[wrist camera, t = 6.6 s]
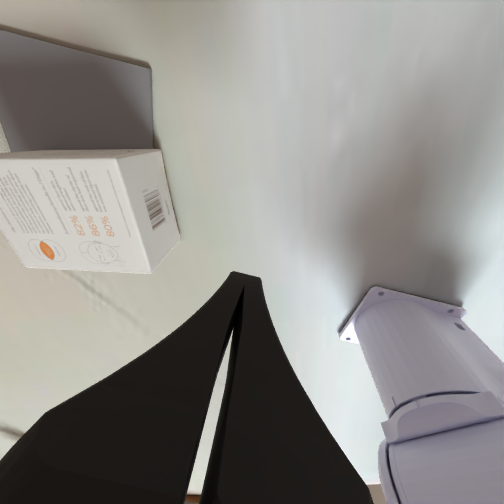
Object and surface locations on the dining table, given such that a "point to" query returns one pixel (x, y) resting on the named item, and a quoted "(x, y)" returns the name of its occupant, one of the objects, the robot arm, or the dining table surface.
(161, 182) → the small box
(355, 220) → the dining table surface
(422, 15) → the dining table surface
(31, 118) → the mat
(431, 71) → the dining table surface
